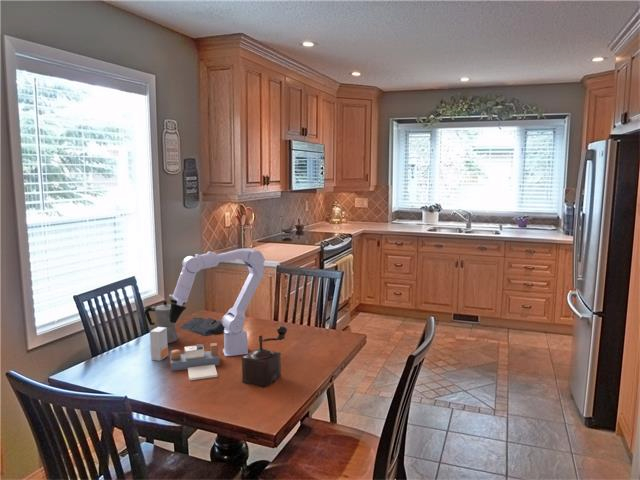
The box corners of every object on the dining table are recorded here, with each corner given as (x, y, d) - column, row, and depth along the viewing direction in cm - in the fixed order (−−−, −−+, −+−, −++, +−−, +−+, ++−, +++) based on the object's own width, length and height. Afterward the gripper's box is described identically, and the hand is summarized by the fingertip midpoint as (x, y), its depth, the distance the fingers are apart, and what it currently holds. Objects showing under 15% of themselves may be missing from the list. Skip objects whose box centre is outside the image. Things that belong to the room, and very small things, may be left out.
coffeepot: (182, 335, 222) (181, 297, 220) (181, 342, 213) (179, 302, 211) (147, 338, 219) (145, 299, 216) (144, 345, 210) (142, 304, 207)
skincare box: (160, 361, 192) (159, 332, 191) (151, 360, 193) (149, 331, 192) (168, 355, 198) (167, 327, 197) (159, 354, 199) (157, 326, 197)
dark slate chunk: (203, 320, 245) (203, 311, 244) (233, 329, 232) (232, 319, 231) (177, 328, 233) (177, 319, 232) (207, 338, 220) (207, 328, 219)
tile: (214, 366, 187) (214, 364, 187) (217, 376, 177) (217, 374, 177) (187, 369, 184) (187, 367, 184) (189, 380, 174) (189, 378, 174)
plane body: (217, 357, 196) (216, 340, 195) (219, 364, 188) (218, 347, 187) (170, 362, 190) (169, 345, 189) (171, 370, 183) (170, 353, 182)
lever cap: (203, 353, 192) (202, 343, 192) (204, 357, 188) (203, 347, 187) (185, 355, 190) (184, 345, 190) (185, 360, 186) (185, 349, 185)
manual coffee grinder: (267, 388, 168) (266, 338, 165) (241, 382, 173) (240, 333, 170) (290, 371, 181) (289, 325, 179) (265, 366, 186) (264, 321, 184)
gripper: (172, 281, 192) (161, 313, 192) (174, 286, 179) (162, 321, 178) (190, 286, 195) (179, 318, 194) (193, 291, 181) (181, 326, 180)
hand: (172, 320), depth 186 cm, fingers open, 7 cm apart
